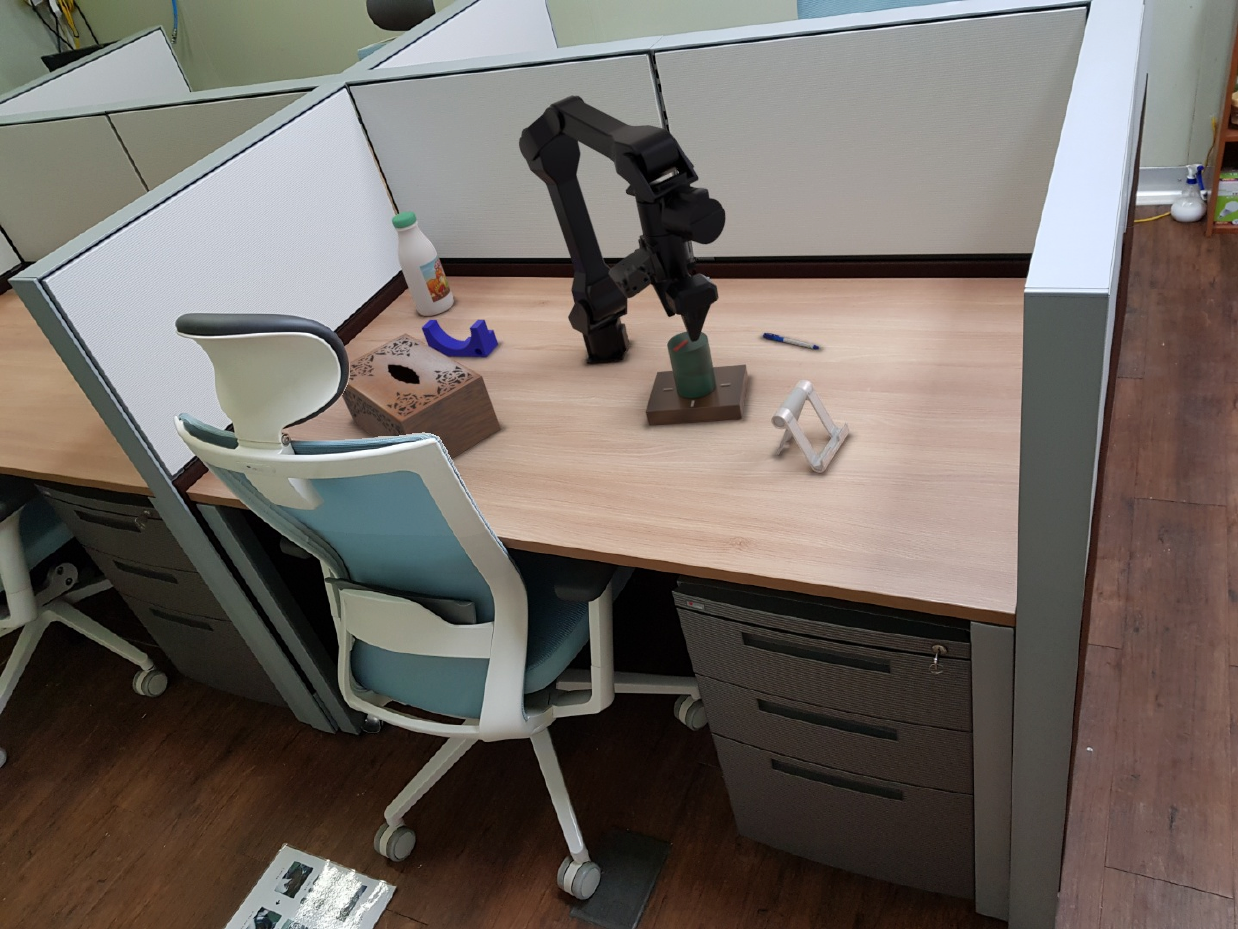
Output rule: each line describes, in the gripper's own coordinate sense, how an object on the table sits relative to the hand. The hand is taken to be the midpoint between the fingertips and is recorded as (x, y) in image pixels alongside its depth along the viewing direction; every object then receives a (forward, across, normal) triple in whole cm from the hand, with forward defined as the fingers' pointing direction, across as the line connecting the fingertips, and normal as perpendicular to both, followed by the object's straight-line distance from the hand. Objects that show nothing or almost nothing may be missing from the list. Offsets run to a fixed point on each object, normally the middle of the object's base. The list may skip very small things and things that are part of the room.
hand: (682, 328), depth 135 cm
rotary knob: (+10, +1, 0) cm, 10 cm away
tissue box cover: (+12, -21, -40) cm, 47 cm away
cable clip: (+12, -42, -29) cm, 53 cm away
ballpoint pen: (+12, -5, +19) cm, 23 cm away
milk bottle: (+13, -65, -31) cm, 73 cm away
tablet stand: (+12, +22, +8) cm, 26 cm away
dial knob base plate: (+12, +1, 0) cm, 12 cm away
